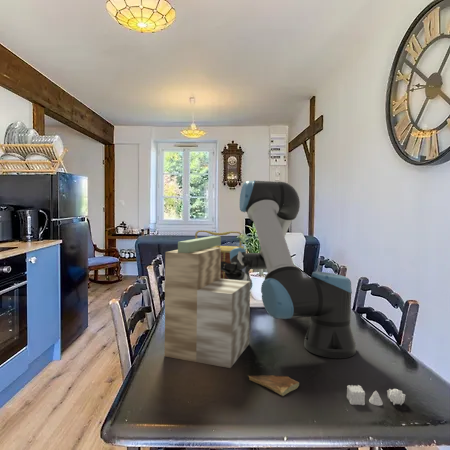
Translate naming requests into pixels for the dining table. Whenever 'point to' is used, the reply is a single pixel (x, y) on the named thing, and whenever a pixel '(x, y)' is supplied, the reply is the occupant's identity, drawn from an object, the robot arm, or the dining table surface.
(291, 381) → the shard
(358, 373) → the dining table surface
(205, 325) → the stand
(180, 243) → the green block
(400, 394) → the game pieces
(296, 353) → the dining table surface
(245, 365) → the dining table surface
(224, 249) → the picnic basket
